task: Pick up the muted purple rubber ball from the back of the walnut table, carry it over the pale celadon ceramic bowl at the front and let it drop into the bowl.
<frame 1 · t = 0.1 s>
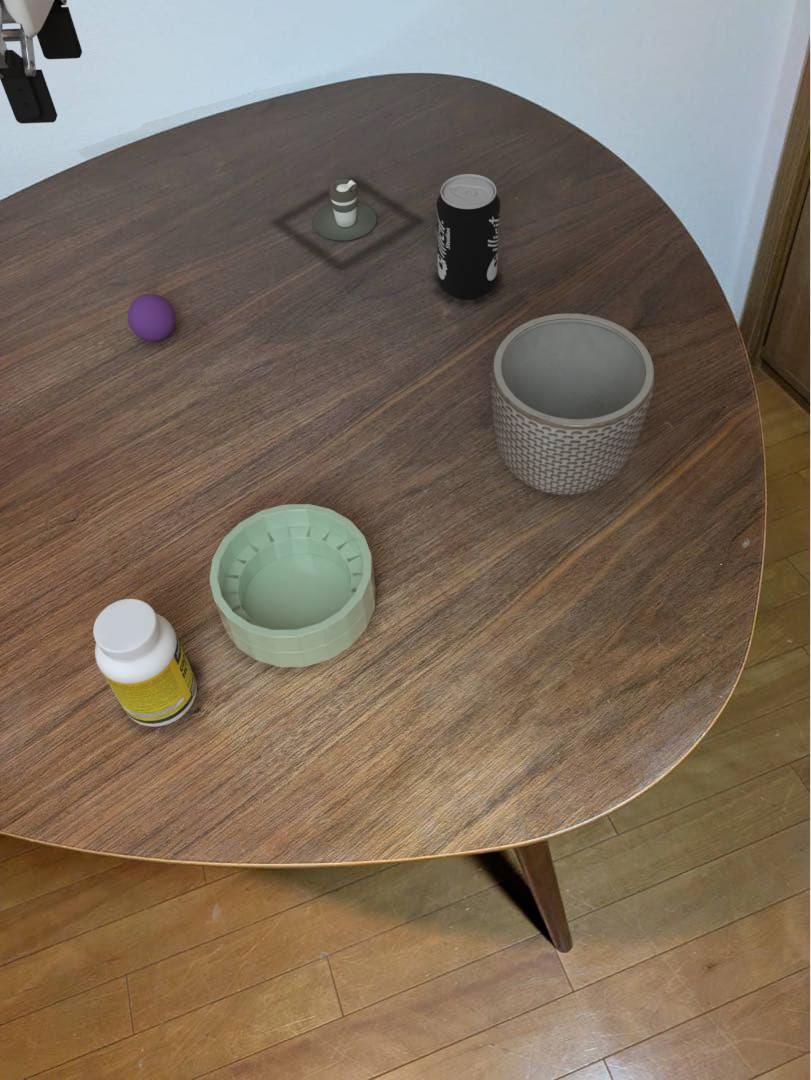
hand: (51, 87, 81), 30 cm above the table, tool pointing down, fingers open, 9 cm apart
beverage can: (467, 285, 110), on the table
planter: (560, 467, 94), on the table
ball: (157, 335, 107), on the table
bowl: (299, 602, 86), on the table
coffee cup: (347, 223, 118), on the table
pill bottle: (161, 695, 81), on the table
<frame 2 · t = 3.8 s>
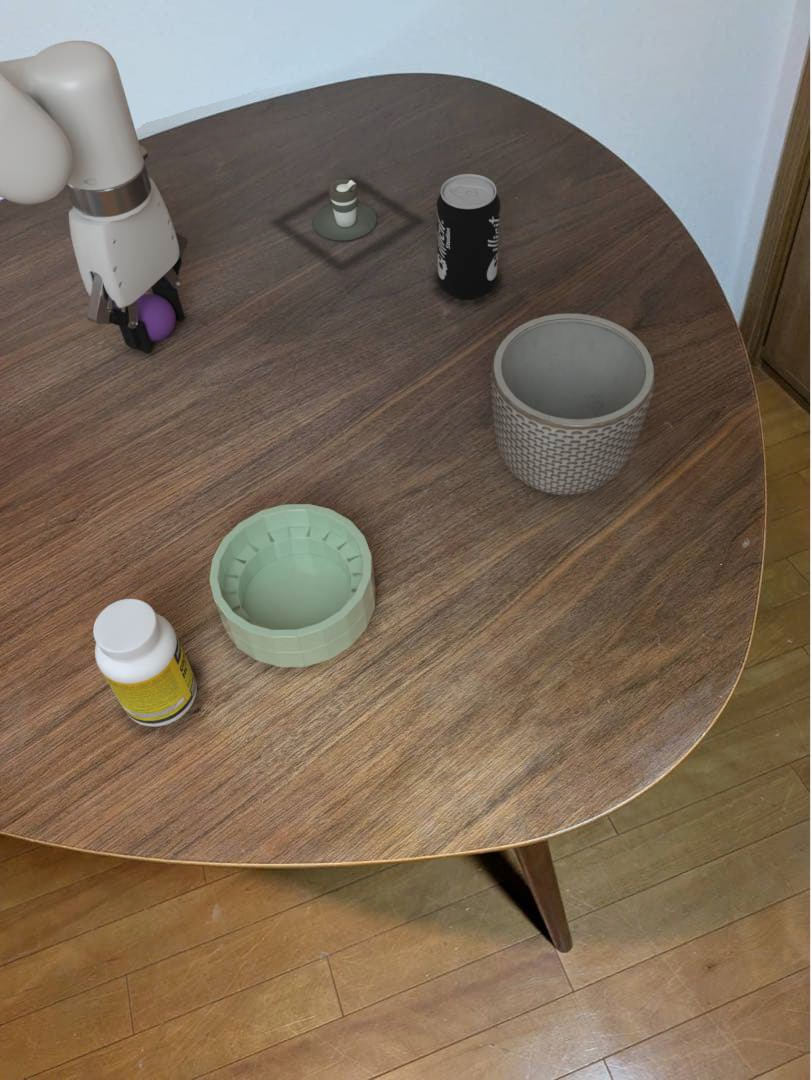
hand: (156, 330, 107), 1 cm above the table, tool pointing down, fingers closed on ball, 4 cm apart
ball: (157, 335, 107), on the table, touching gripper
everything else where it was.
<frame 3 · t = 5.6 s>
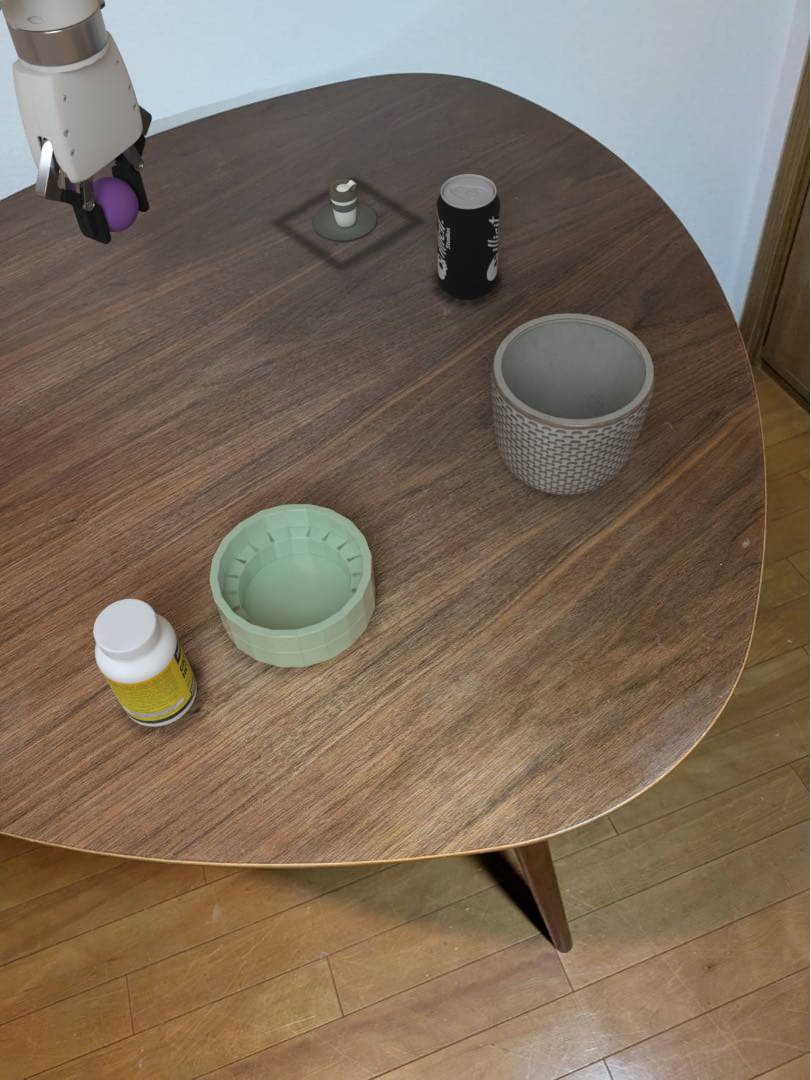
hand: (116, 221, 95), 15 cm above the table, tool pointing down, fingers closed on ball, 4 cm apart
ball: (118, 227, 96), point 14 cm above the table, touching gripper
everything else where it was.
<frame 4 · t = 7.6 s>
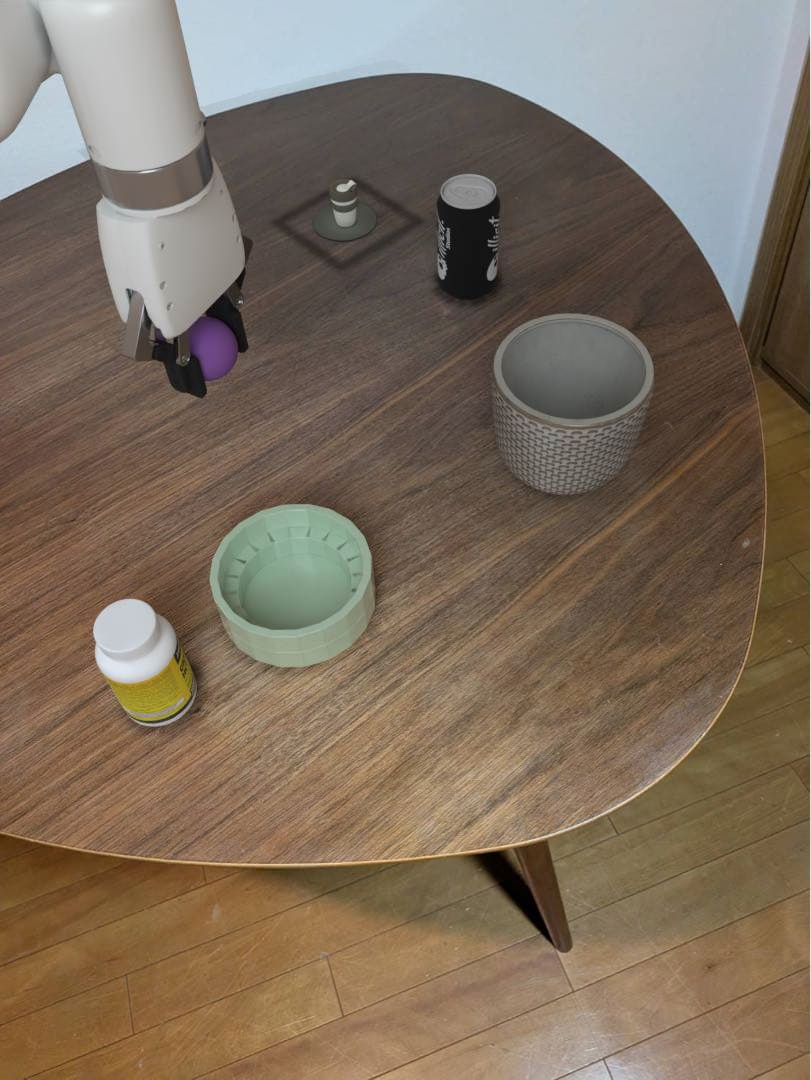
hand: (210, 366, 79), 18 cm above the table, tool pointing down, fingers closed on ball, 4 cm apart
ball: (212, 372, 79), point 17 cm above the table, touching gripper
everything else where it was.
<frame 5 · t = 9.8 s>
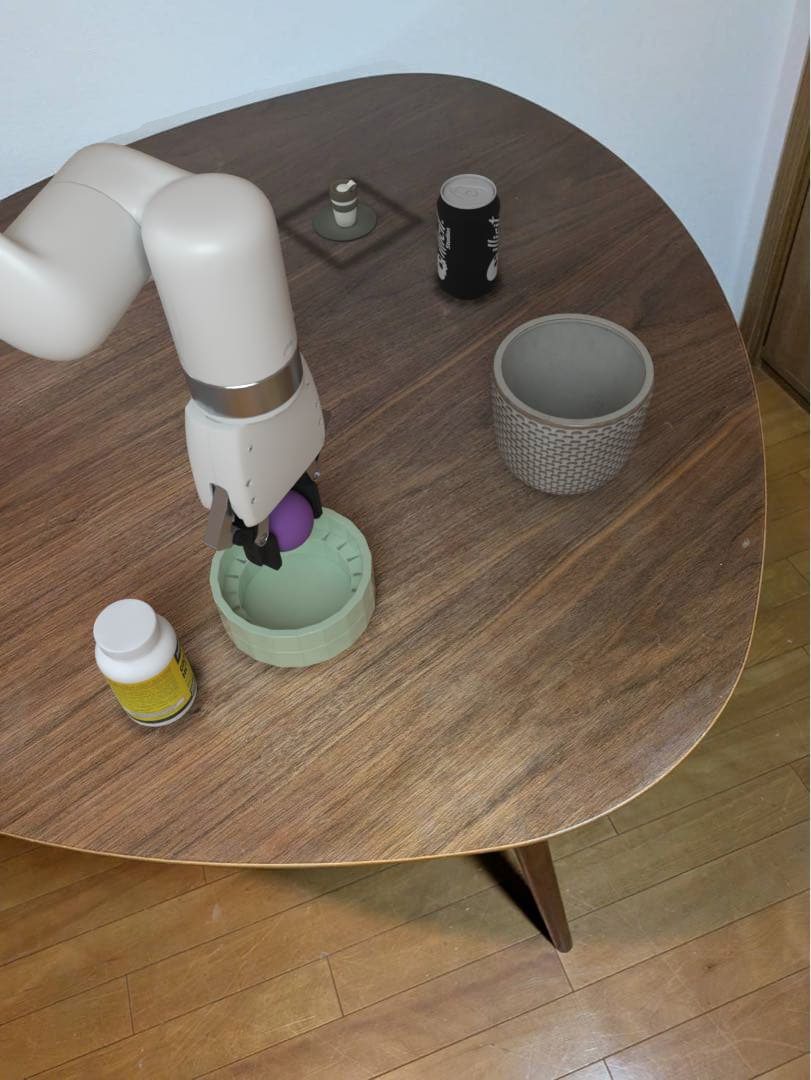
hand: (284, 534, 78), 10 cm above the table, tool pointing down, fingers closed on ball, 4 cm apart
ball: (286, 538, 78), point 10 cm above the table, touching gripper
everything else where it was.
when the fingers open (4 cm above the table, at t = 11.9 s): ball drops 3 cm, resting on bowl.
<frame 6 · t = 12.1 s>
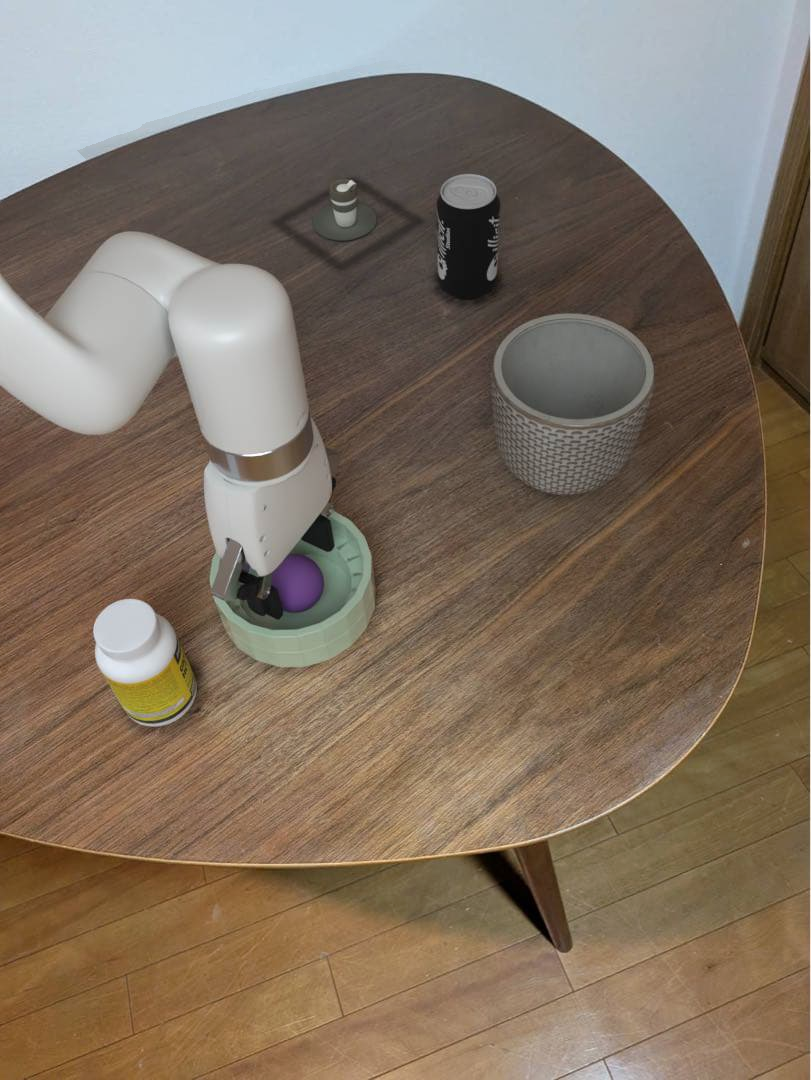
hand: (292, 575, 83), 4 cm above the table, tool pointing down, fingers open, 7 cm apart
ball: (298, 599, 86), point 1 cm above the table, touching bowl
everything else where it was.
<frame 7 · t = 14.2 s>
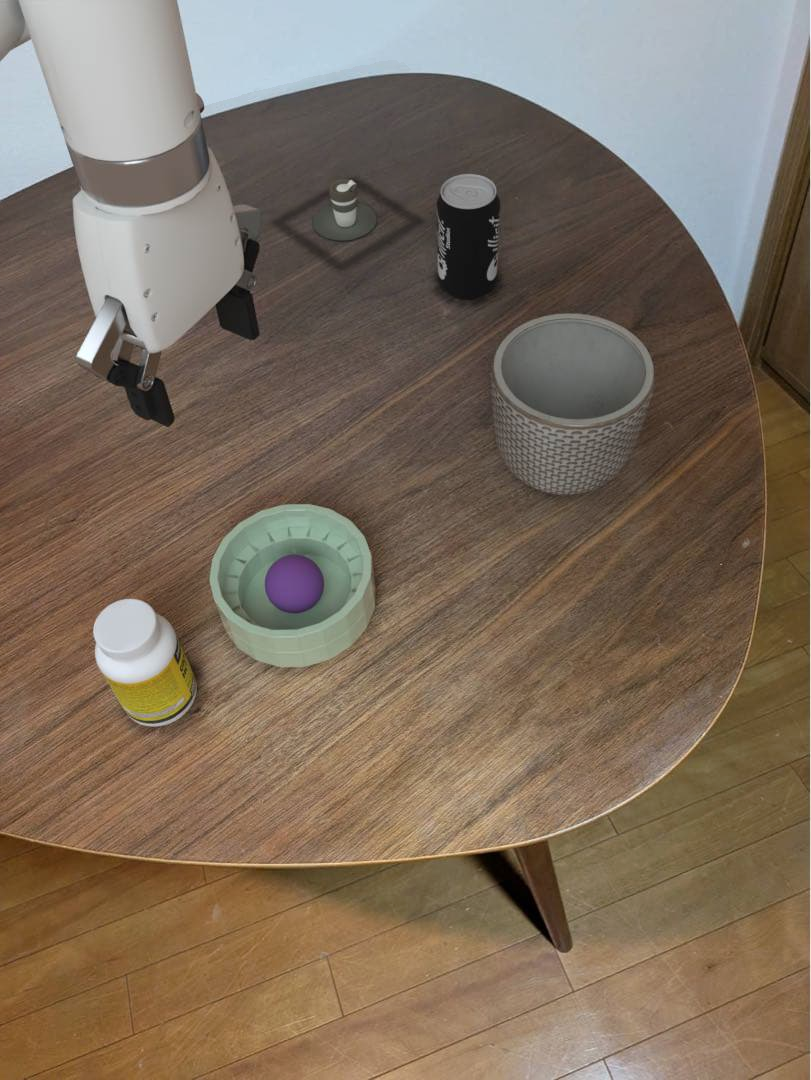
hand: (199, 373, 69), 24 cm above the table, tool pointing down, fingers open, 9 cm apart
nothing on the table moved.
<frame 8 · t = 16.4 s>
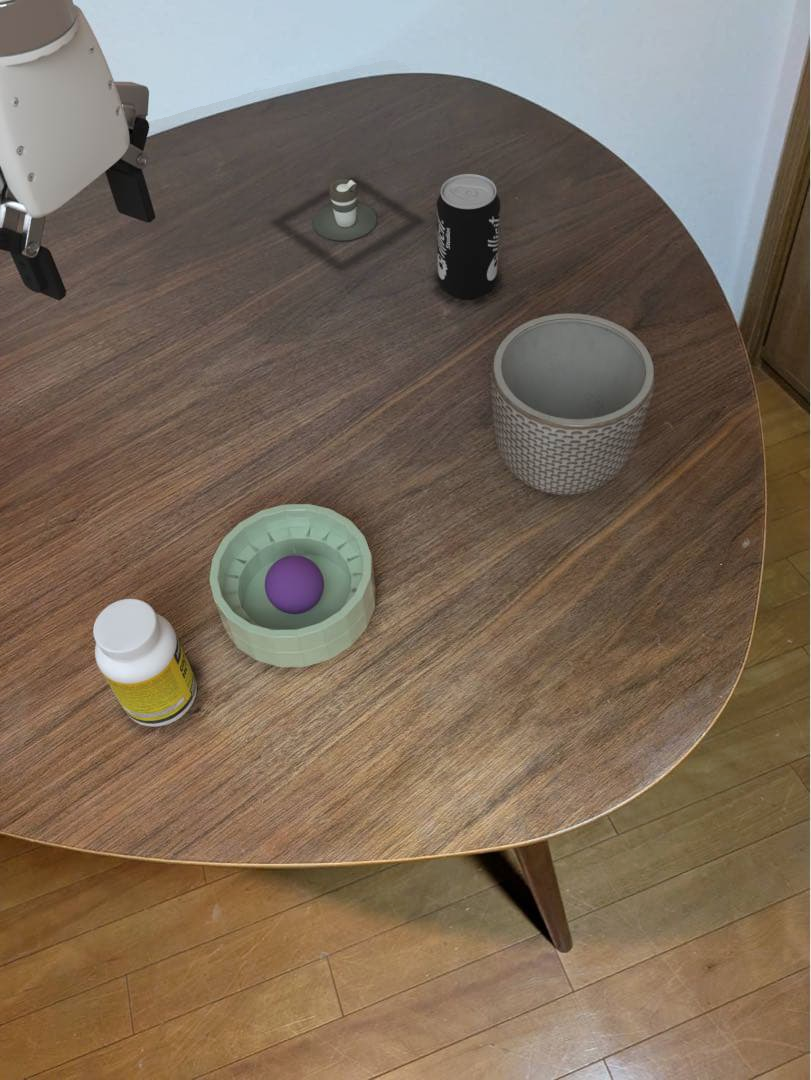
hand: (94, 252, 71), 28 cm above the table, tool pointing down, fingers open, 9 cm apart
nothing on the table moved.
at the end: ball inside the target area in the bowl (0.0 cm from its centre), point 0.6 cm above the bowl's base; the gripper is holding nothing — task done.
